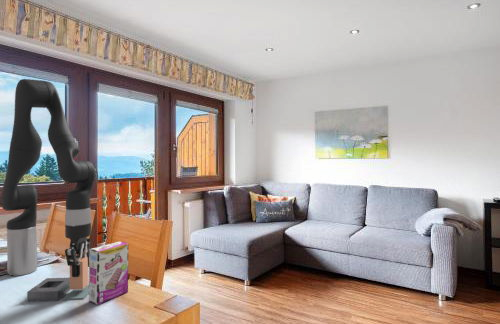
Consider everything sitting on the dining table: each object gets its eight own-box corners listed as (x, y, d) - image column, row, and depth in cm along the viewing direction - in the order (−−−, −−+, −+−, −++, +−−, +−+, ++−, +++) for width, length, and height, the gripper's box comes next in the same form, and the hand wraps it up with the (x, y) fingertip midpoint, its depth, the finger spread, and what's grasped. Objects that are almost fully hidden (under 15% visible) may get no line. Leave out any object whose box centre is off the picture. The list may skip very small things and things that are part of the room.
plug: (75, 284, 107) (75, 257, 107) (88, 284, 108) (87, 257, 107) (69, 289, 103) (69, 261, 103) (82, 289, 104) (82, 261, 103)
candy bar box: (98, 306, 96) (97, 251, 96) (88, 302, 99) (87, 249, 99) (129, 292, 106) (129, 242, 106) (119, 288, 109) (119, 240, 108)
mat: (78, 286, 110) (78, 285, 110) (96, 285, 111) (96, 284, 111) (63, 299, 100) (63, 298, 100) (83, 299, 101) (83, 297, 101)
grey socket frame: (46, 286, 110) (46, 278, 110) (74, 286, 111) (74, 277, 111) (27, 301, 99) (27, 292, 99) (57, 300, 100) (57, 291, 100)
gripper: (76, 217, 112) (76, 266, 112) (55, 227, 98) (55, 283, 98) (98, 217, 112) (99, 266, 113) (80, 226, 98) (81, 282, 99)
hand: (78, 273), depth 105 cm, fingers closed on plug, 3 cm apart
